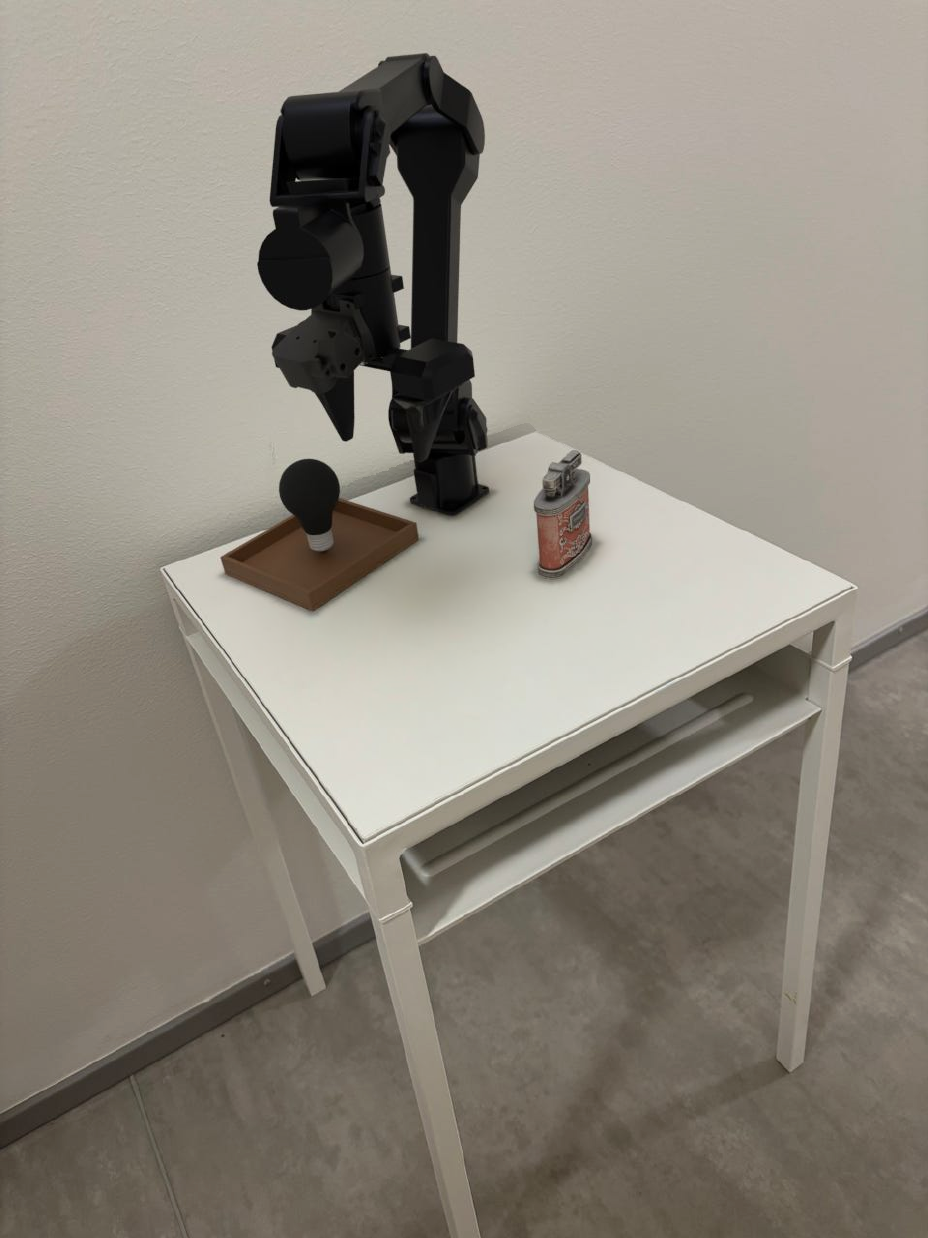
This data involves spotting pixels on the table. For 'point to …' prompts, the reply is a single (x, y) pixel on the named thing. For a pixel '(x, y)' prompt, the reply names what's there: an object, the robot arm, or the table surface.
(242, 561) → the tray
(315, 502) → the light bulb
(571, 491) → the lighter
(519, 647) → the table surface
